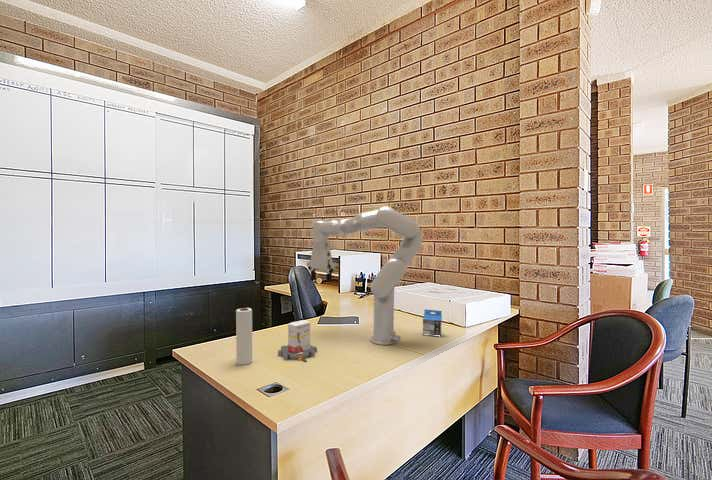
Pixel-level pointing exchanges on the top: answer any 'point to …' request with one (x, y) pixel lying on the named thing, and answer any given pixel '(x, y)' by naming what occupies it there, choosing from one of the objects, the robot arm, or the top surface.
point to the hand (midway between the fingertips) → (321, 280)
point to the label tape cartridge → (432, 322)
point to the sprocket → (298, 356)
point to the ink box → (298, 336)
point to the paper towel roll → (244, 336)
